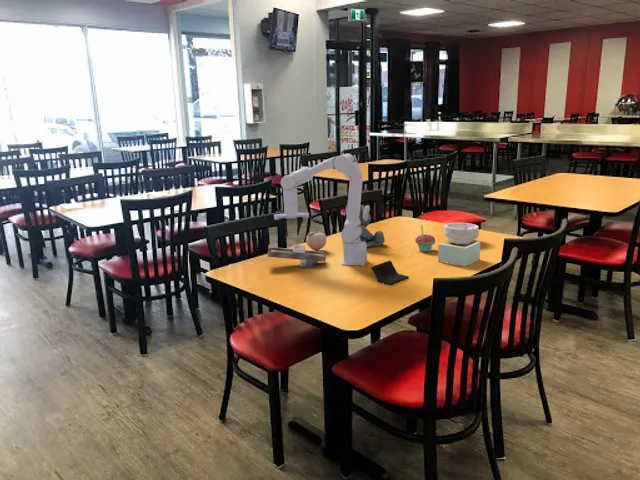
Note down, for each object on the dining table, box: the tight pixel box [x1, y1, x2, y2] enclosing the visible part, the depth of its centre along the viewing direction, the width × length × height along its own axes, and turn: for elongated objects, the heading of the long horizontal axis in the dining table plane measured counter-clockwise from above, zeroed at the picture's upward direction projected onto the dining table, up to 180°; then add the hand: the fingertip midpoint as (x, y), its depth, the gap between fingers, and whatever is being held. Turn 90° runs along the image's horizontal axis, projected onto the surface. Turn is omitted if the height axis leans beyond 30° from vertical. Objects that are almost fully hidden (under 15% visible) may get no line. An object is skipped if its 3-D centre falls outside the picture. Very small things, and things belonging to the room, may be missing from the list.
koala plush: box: [341, 204, 385, 248], centre depth 236 cm, size 17×18×20 cm
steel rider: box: [291, 244, 306, 254], centre depth 209 cm, size 5×4×3 cm
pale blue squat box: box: [437, 241, 481, 267], centre depth 207 cm, size 12×12×8 cm
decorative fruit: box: [305, 229, 328, 251], centre depth 229 cm, size 9×8×10 cm
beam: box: [267, 244, 327, 263], centre depth 209 cm, size 23×7×4 cm, turn 95°
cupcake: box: [414, 224, 436, 252], centre depth 223 cm, size 9×8×12 cm
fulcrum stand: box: [299, 258, 320, 270], centre depth 211 cm, size 7×10×4 cm
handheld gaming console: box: [371, 260, 410, 286], centre depth 189 cm, size 12×7×10 cm
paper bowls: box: [443, 222, 480, 245], centre depth 235 cm, size 15×15×8 cm
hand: (292, 235), depth 217 cm, fingers open, 4 cm apart
